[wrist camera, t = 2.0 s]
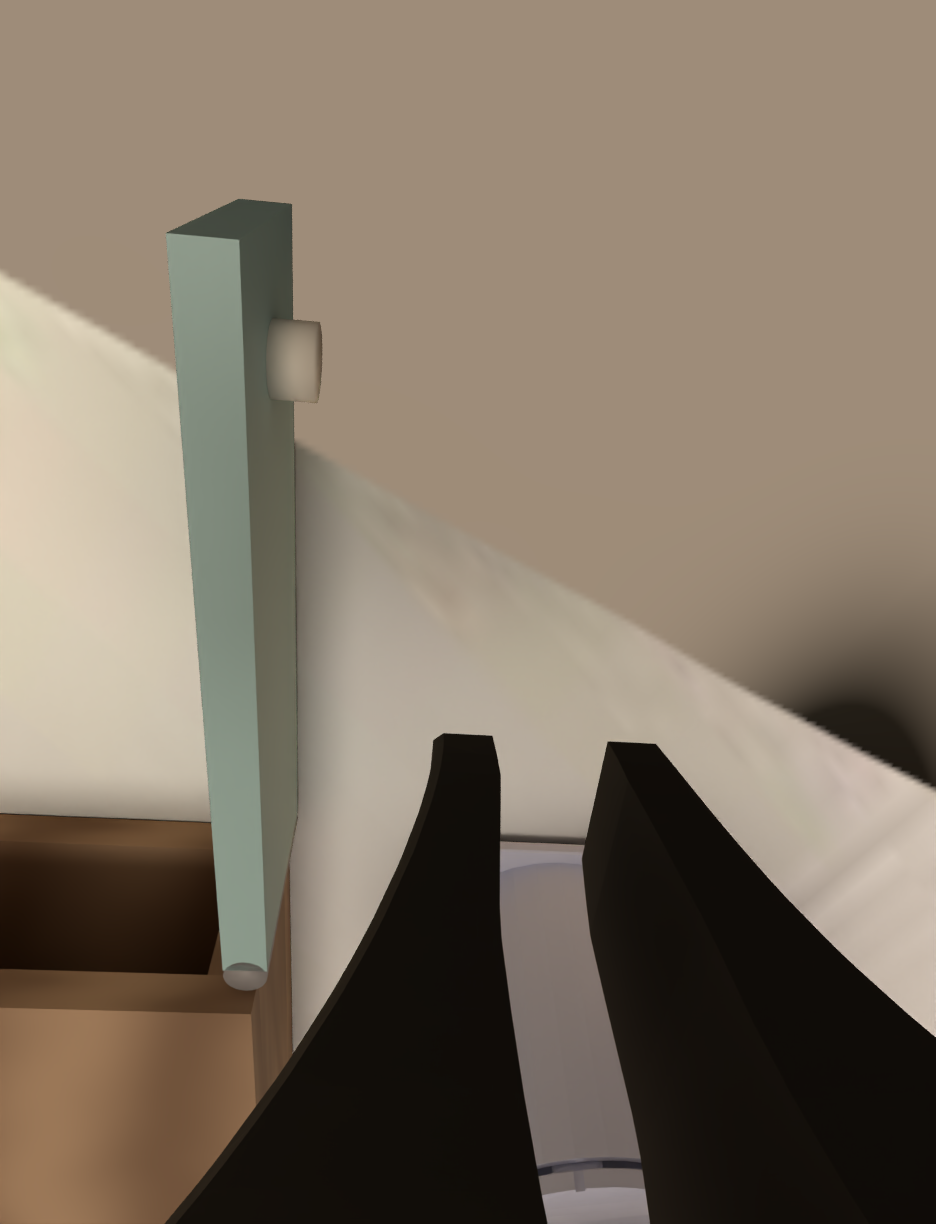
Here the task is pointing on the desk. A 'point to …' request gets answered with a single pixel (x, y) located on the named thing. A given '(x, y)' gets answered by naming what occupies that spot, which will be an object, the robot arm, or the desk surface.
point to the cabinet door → (244, 546)
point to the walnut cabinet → (122, 1019)
